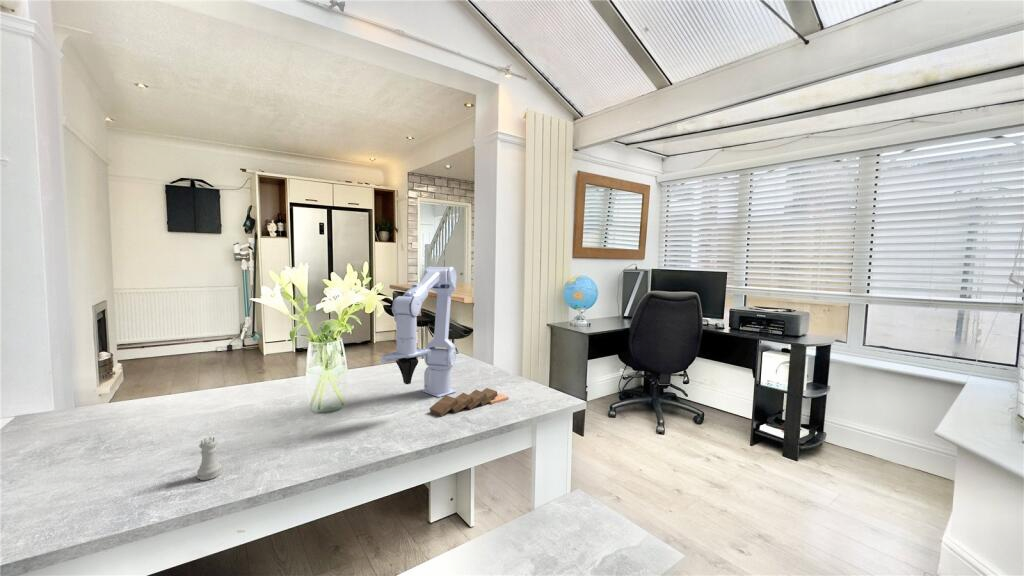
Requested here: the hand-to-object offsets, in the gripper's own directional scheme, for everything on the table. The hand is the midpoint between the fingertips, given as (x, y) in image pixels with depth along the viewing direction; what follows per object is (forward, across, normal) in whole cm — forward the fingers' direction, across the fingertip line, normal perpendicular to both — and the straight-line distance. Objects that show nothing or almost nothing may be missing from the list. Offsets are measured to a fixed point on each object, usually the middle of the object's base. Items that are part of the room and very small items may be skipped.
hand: (407, 383), depth 119 cm
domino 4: (+10, +22, -2) cm, 25 cm away
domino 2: (+10, +13, -2) cm, 16 cm away
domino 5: (+10, +26, -2) cm, 28 cm away
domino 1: (+10, +8, -3) cm, 13 cm away
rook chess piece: (+11, -47, -6) cm, 48 cm away
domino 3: (+10, +18, -3) cm, 20 cm away
